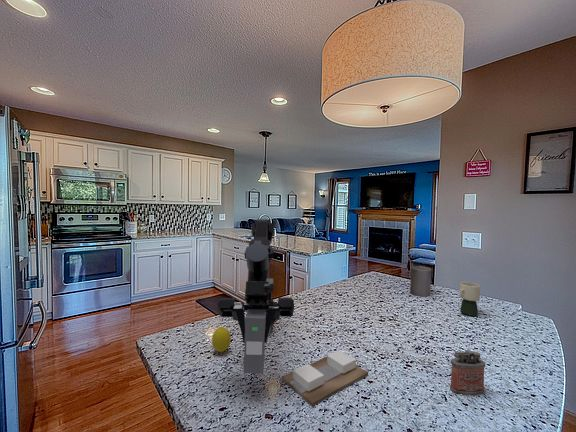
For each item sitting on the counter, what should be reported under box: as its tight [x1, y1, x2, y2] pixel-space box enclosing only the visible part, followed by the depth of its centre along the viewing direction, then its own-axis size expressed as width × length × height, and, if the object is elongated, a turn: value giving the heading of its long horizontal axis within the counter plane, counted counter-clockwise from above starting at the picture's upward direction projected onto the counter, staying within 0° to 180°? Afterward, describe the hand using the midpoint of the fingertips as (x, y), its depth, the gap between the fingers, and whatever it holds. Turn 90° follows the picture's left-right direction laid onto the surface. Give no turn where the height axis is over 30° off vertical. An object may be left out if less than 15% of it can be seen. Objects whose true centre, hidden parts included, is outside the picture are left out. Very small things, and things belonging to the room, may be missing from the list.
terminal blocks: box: [292, 350, 357, 392], centre depth 73 cm, size 6×17×2 cm, turn 126°
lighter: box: [449, 349, 486, 396], centre depth 68 cm, size 8×3×10 cm, turn 92°
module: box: [243, 309, 266, 375], centre depth 66 cm, size 5×4×13 cm
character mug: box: [458, 281, 481, 317], centre depth 117 cm, size 11×7×13 cm, turn 107°
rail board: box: [281, 356, 369, 407], centre depth 73 cm, size 12×20×1 cm, turn 126°
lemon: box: [211, 326, 232, 353], centre depth 85 cm, size 6×6×8 cm
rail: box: [290, 363, 359, 394], centre depth 73 cm, size 5×20×1 cm, turn 126°
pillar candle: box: [409, 265, 432, 298], centre depth 144 cm, size 10×10×15 cm
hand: (254, 342), depth 65 cm, fingers closed on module, 5 cm apart
